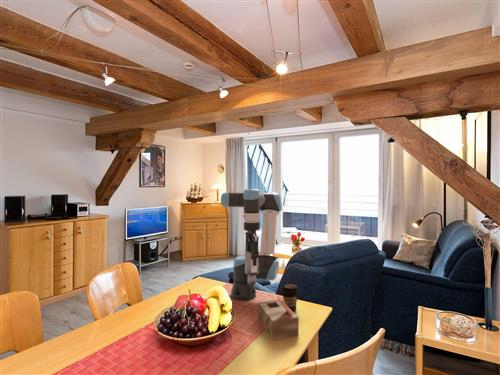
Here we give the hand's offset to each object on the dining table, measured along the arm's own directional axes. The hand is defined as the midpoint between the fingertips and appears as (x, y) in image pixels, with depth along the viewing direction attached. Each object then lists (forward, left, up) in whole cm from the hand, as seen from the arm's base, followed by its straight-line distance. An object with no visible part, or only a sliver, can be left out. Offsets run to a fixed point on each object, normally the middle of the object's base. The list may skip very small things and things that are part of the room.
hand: (251, 269), depth 132 cm
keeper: (+12, +11, -14) cm, 21 cm away
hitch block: (+6, +10, -26) cm, 28 cm away
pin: (0, 0, -6) cm, 6 cm away
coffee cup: (-7, +23, -26) cm, 36 cm away
